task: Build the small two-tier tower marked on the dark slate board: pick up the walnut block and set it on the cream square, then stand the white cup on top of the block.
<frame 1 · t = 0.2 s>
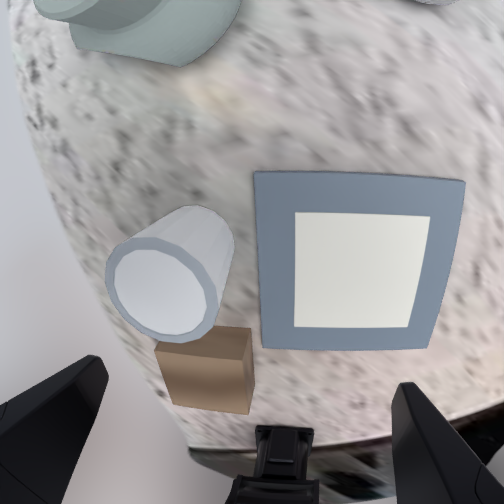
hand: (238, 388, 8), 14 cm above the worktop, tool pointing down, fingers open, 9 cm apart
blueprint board: (358, 271, 22), on the worktop
air freshener: (170, 6, 16), on the worktop
walnut block: (214, 353, 28), on the worktop
white cup: (197, 241, 23), on the worktop
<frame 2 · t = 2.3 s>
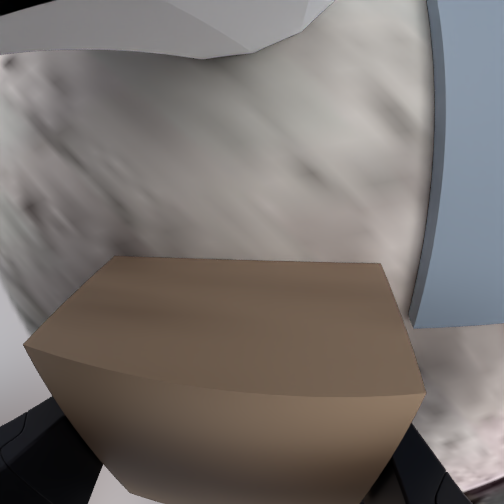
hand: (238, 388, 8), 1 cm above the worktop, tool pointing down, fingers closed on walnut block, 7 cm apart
walnut block: (245, 363, 9), on the worktop, touching gripper
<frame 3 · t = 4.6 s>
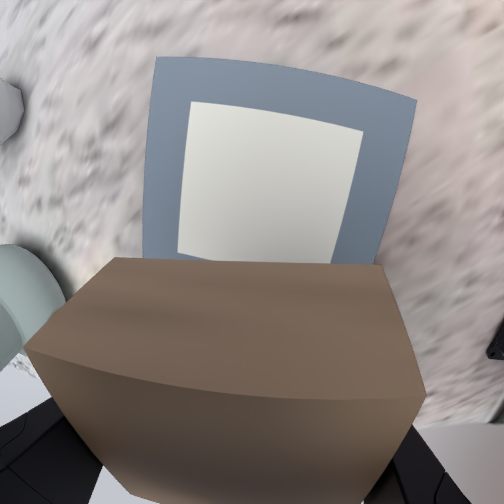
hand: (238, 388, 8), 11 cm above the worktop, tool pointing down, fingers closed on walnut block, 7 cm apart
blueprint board: (263, 192, 17), on the worktop
air freshener: (41, 285, 25), on the worktop
salt shaker: (11, 109, 18), on the worktop
walnut block: (245, 364, 9), point 10 cm above the worktop, touching gripper
when the fingers open (3 cm above the worktop, at t = 6.8 s): walnut block drops 1 cm, resting on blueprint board.
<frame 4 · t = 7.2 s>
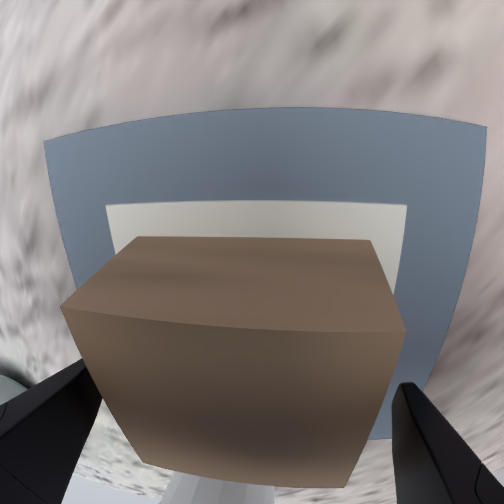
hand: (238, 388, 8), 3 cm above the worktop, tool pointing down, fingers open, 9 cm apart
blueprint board: (254, 320, 11), on the worktop
air freshener: (36, 403, 20), on the worktop
walnut block: (252, 333, 11), point 1 cm above the worktop, touching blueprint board
white cup: (230, 457, 17), on the worktop
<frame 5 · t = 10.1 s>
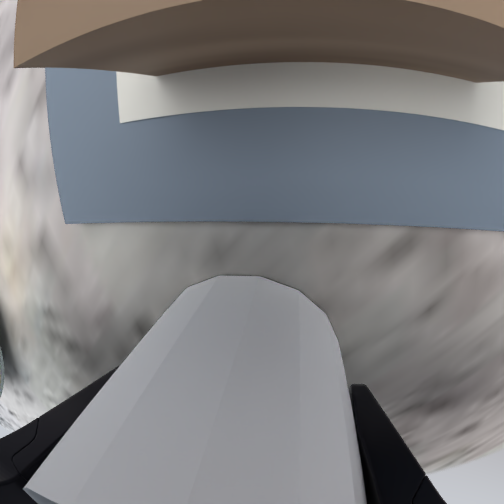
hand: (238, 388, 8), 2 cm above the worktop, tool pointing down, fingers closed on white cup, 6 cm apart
white cup: (248, 348, 10), on the worktop, touching gripper
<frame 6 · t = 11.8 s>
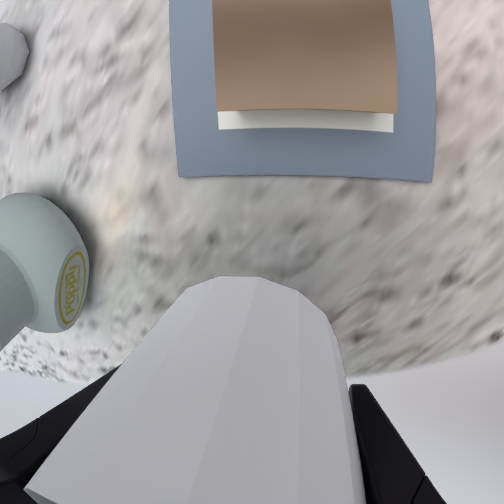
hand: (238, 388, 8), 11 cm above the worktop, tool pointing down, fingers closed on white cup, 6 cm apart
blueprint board: (303, 45, 14), on the worktop
air freshener: (56, 247, 22), on the worktop
salt shaker: (15, 59, 15), on the worktop
walnut block: (304, 44, 13), point 1 cm above the worktop, touching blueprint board
white cup: (248, 348, 10), point 10 cm above the worktop, touching gripper
when the fingers open (8 cm above the worktop, at t = 13.6 s): white cup drops 1 cm, resting on walnut block.
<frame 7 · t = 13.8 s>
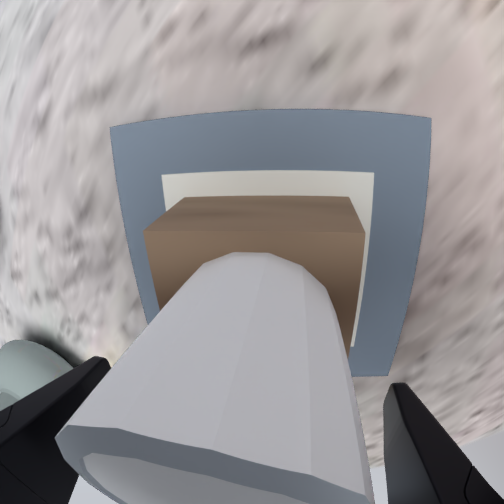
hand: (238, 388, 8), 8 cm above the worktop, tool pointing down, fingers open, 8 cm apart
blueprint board: (268, 262, 15), on the worktop
air freshener: (61, 371, 24), on the worktop
walnut block: (266, 270, 15), point 1 cm above the worktop, touching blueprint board, white cup
white cup: (256, 320, 11), point 4 cm above the worktop, touching walnut block
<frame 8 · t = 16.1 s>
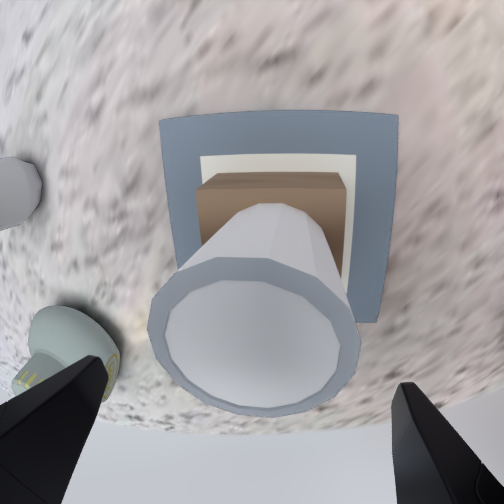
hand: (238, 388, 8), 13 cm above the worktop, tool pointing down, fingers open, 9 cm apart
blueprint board: (279, 224, 20), on the worktop
air freshener: (89, 336, 28), on the worktop
salt shaker: (29, 182, 22), on the worktop
walnut block: (278, 228, 19), point 1 cm above the worktop, touching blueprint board, white cup
white cup: (273, 255, 16), point 4 cm above the worktop, touching walnut block
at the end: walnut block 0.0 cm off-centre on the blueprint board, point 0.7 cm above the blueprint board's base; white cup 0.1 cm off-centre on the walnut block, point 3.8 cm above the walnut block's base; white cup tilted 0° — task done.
